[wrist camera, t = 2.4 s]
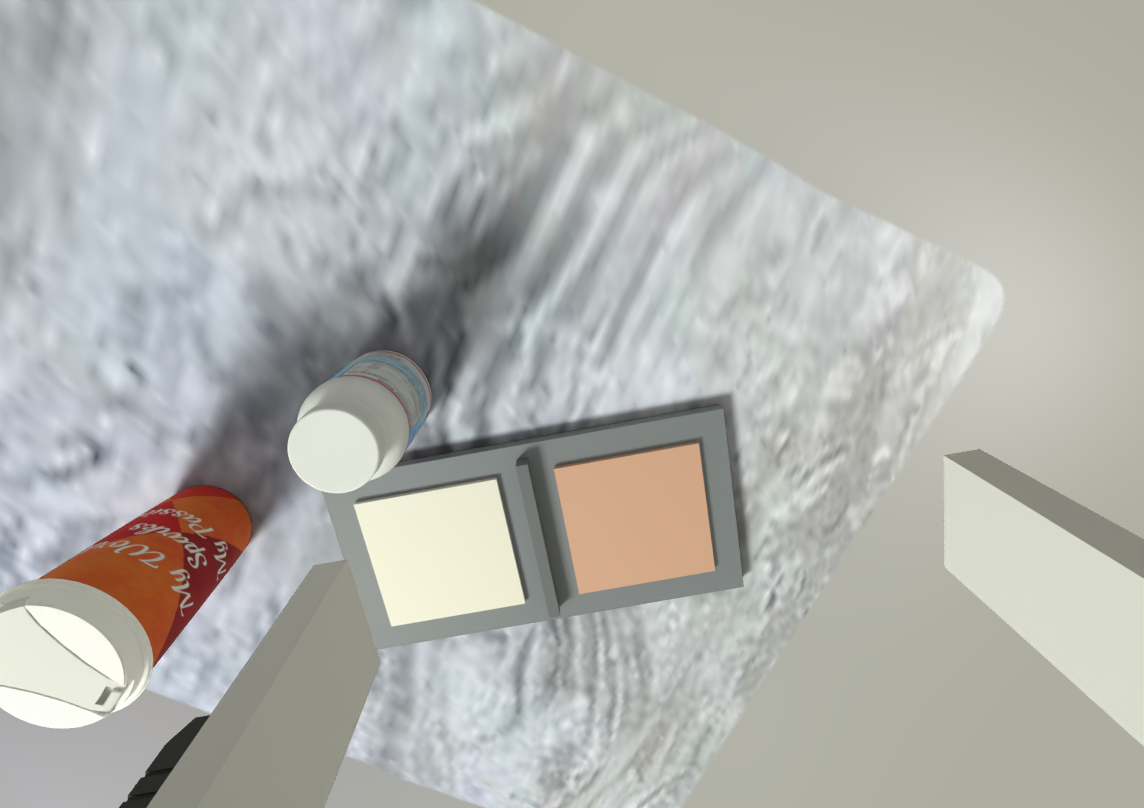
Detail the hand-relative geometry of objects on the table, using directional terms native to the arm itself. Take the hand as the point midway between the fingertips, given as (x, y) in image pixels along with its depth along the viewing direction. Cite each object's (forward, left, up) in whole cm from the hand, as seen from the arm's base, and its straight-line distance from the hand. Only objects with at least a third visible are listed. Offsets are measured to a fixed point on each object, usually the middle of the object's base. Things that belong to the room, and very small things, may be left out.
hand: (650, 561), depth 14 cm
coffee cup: (+9, -29, -29) cm, 42 cm away
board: (+14, -6, -29) cm, 32 cm away
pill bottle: (+2, -14, -29) cm, 32 cm away
